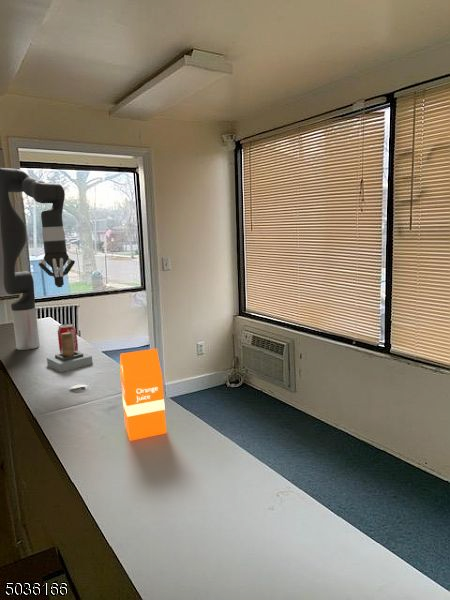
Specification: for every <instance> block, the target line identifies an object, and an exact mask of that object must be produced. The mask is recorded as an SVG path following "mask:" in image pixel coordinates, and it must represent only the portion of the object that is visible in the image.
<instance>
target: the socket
mask: <svg viewBox="0 0 450 600" xmlns="http://www.w3.org/2000/svg"><path fill="white" fill-rule="evenodd" d="M46 362H47V363H46V364H47V367H49V368H52V369H54V370H56V371H58V372H59V373H65V372H68V371H72V370H75V369H79V368H83V367H86V366H90V365H93V356H92V355H89V354H87V353H84V352H82V351H80V350H78V351H74V355H73V356H69V357H63V353H61V354H60V353H58V354H55V355H54V356H49V357H46Z"/></svg>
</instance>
